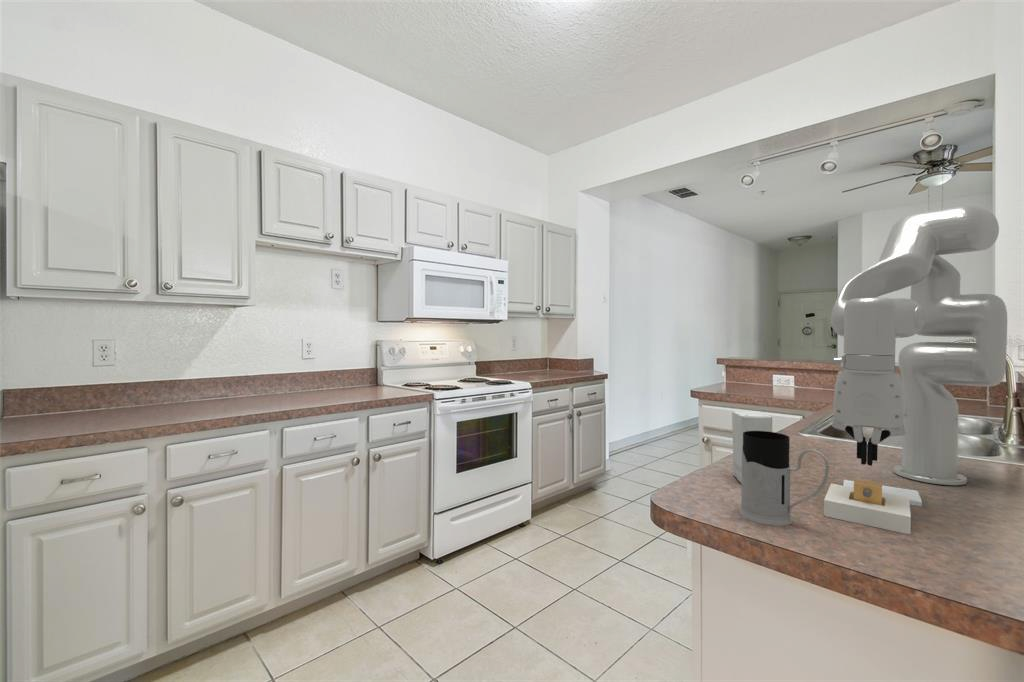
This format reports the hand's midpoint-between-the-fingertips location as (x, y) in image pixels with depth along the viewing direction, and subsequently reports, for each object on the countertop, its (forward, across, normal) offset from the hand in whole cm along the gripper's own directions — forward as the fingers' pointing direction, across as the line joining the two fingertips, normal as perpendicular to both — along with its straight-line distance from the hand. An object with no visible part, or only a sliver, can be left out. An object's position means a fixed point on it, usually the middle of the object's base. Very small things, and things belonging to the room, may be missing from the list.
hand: (866, 463), depth 84 cm
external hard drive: (+10, +2, +16) cm, 19 cm away
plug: (+9, 0, 0) cm, 9 cm away
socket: (+10, 0, 0) cm, 10 cm away
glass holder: (+10, -12, -13) cm, 20 cm away
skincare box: (+10, -21, +7) cm, 24 cm away
